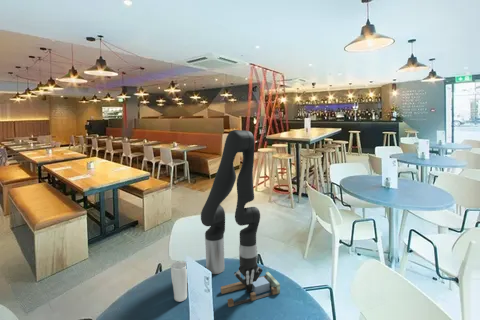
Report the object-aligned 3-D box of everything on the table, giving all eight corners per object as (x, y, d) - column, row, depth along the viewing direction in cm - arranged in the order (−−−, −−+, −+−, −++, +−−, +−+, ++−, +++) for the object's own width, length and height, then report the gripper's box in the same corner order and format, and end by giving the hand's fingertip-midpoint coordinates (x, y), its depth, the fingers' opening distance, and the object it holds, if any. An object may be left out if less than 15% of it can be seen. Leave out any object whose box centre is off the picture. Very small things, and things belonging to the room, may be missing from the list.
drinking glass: (172, 304, 108) (170, 270, 106) (172, 294, 115) (170, 262, 113) (189, 301, 110) (188, 267, 108) (188, 292, 117) (186, 260, 115)
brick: (249, 288, 119) (249, 280, 119) (263, 284, 122) (263, 276, 121) (255, 295, 114) (255, 286, 114) (269, 291, 117) (269, 282, 116)
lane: (220, 291, 116) (220, 283, 116) (268, 279, 125) (268, 271, 124) (228, 307, 106) (228, 298, 106) (280, 292, 115) (280, 284, 114)
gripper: (258, 246, 119) (258, 282, 121) (230, 252, 114) (231, 289, 116) (266, 254, 112) (266, 292, 114) (236, 260, 107) (237, 300, 109)
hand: (248, 290), depth 115 cm, fingers closed
